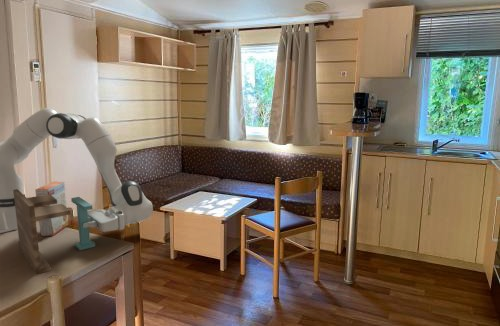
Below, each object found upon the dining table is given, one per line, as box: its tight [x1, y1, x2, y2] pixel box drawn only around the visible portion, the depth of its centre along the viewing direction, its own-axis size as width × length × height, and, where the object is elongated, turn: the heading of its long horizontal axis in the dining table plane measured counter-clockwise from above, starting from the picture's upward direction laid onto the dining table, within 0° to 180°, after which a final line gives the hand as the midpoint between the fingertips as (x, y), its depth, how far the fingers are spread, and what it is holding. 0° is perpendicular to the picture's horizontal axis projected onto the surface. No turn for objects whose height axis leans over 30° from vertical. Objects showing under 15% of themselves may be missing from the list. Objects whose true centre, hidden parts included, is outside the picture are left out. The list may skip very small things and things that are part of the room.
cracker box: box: [35, 181, 69, 237], centre depth 171 cm, size 14×6×21 cm, turn 178°
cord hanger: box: [71, 196, 96, 251], centre depth 153 cm, size 6×16×18 cm, turn 40°
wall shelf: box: [13, 189, 72, 275], centre depth 144 cm, size 12×28×24 cm, turn 40°
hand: (80, 223), depth 153 cm, fingers closed on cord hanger, 3 cm apart
